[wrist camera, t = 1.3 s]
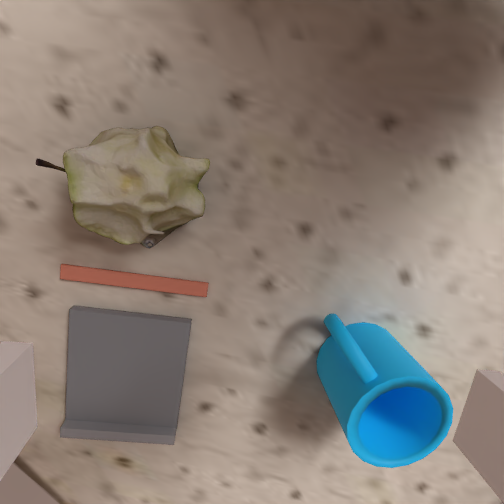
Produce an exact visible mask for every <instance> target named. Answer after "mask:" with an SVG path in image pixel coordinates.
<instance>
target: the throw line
mask: <svg viewBox="0 0 504 504" xmlns="http://www.w3.org/2000/svg"><path fill="white" fill-rule="evenodd" d="M60 279H65V280H73V281H81V282H90V283H98V284H106V285H114V286H122V287H130V288H138V289H146V290H154V291H162V292H170V293H178V294H186V295H194V296H202V297H207V290H208V283H205V282H198V281H190V280H182V279H175V278H167V277H159V276H151V275H144V274H136V273H128V272H121V271H113V270H105V269H97V268H90V267H82V266H74V265H67V264H62V265H61V272H60Z"/></svg>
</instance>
